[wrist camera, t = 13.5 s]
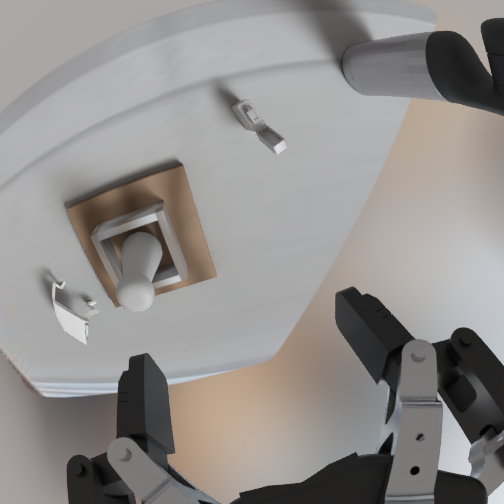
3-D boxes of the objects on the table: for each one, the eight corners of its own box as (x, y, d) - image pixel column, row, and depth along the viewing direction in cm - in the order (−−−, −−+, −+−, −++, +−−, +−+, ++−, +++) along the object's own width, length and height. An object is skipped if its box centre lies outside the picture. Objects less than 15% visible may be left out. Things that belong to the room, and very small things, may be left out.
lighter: (230, 107, 33) (243, 105, 26) (240, 100, 33) (256, 96, 26) (258, 147, 37) (278, 155, 30) (268, 140, 36) (290, 147, 30)
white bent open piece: (114, 312, 43) (110, 331, 39) (86, 331, 43) (82, 350, 39) (66, 265, 36) (57, 282, 32) (41, 290, 37) (32, 307, 33)
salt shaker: (116, 239, 36) (96, 293, 25) (147, 218, 36) (136, 266, 25) (140, 268, 39) (132, 328, 28) (170, 249, 39) (171, 305, 28)
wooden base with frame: (182, 164, 35) (183, 171, 30) (215, 271, 44) (221, 291, 40) (69, 206, 33) (56, 220, 28) (116, 301, 42) (112, 323, 37)
